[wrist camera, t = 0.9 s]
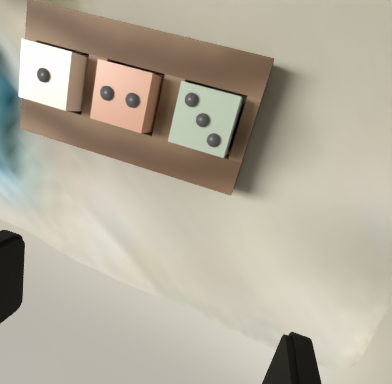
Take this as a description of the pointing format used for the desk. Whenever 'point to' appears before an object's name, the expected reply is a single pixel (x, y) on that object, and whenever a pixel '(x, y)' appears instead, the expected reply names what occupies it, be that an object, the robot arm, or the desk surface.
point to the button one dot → (52, 76)
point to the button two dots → (126, 97)
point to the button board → (174, 73)
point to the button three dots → (204, 119)
